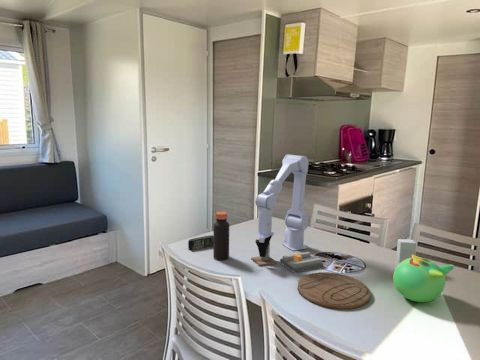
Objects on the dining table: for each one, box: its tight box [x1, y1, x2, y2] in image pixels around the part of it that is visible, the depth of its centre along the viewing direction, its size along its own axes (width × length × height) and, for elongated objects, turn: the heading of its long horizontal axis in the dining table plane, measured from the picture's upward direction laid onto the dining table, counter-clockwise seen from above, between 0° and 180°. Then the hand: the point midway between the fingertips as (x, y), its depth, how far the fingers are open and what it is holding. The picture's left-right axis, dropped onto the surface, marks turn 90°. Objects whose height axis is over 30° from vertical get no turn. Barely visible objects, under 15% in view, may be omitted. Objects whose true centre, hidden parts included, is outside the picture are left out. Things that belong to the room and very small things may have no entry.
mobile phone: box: [187, 234, 214, 251], centre depth 172 cm, size 5×3×15 cm
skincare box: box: [395, 238, 417, 268], centre depth 150 cm, size 6×4×12 cm
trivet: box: [297, 271, 371, 311], centre depth 131 cm, size 25×25×2 cm
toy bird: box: [392, 254, 455, 303], centre depth 125 cm, size 18×17×15 cm
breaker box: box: [279, 251, 324, 273], centre depth 153 cm, size 14×11×3 cm
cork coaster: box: [250, 255, 278, 267], centre depth 156 cm, size 8×8×1 cm
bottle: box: [213, 211, 230, 261], centre depth 158 cm, size 7×7×20 cm
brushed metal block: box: [261, 243, 271, 261], centre depth 155 cm, size 3×3×7 cm
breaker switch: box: [294, 253, 302, 262], centre depth 152 cm, size 2×3×2 cm, turn 25°
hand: (263, 253), depth 155 cm, fingers open, 7 cm apart
